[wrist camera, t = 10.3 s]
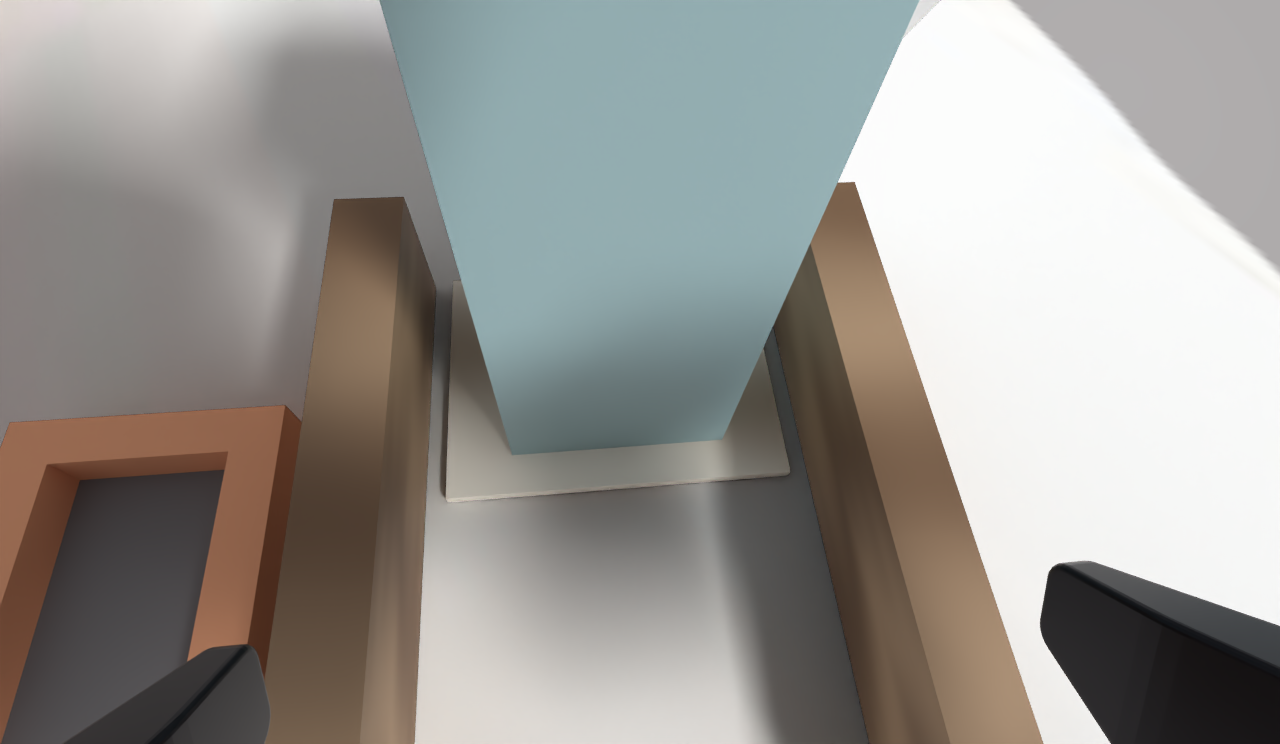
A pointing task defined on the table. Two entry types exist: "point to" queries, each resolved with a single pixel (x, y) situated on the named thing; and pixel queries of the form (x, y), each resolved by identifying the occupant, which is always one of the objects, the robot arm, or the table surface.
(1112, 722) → the robot arm
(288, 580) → the channel
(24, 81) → the table surface
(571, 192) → the block
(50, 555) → the frame
